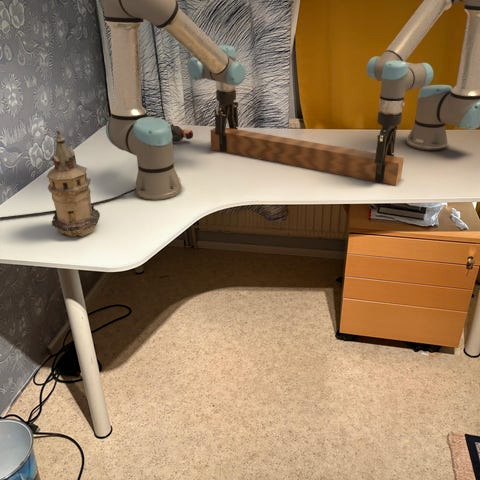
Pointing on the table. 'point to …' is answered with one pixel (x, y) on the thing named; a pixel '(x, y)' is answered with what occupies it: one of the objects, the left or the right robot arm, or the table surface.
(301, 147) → the beam
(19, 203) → the table surface
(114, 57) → the left robot arm
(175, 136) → the toy
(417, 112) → the right robot arm
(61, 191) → the miniature building
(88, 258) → the table surface
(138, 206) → the table surface
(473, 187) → the table surface
